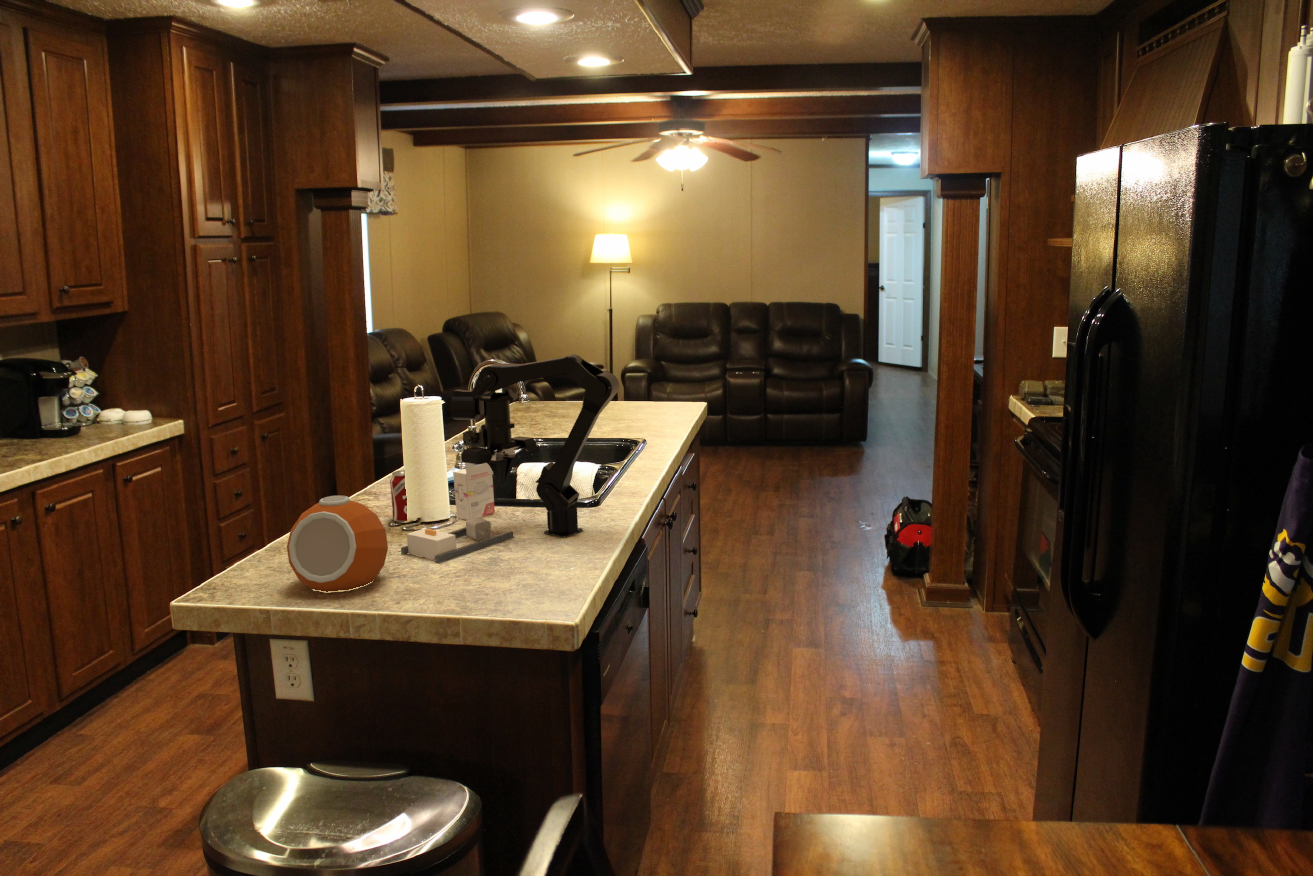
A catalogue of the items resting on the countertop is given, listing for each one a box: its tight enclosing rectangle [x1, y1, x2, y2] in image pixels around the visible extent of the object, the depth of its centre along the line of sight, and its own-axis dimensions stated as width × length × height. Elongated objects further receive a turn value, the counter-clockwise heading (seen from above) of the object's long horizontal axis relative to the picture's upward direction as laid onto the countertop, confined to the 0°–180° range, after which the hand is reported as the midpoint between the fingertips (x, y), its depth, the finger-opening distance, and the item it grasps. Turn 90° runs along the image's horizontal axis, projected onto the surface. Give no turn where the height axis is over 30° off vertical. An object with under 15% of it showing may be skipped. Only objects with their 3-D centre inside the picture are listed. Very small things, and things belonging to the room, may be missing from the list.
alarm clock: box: [286, 495, 389, 592], centre depth 203 cm, size 19×18×17 cm
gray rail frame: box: [400, 526, 514, 564], centre depth 227 cm, size 12×22×2 cm, turn 143°
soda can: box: [389, 469, 407, 523], centre depth 248 cm, size 7×7×12 cm
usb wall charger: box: [465, 517, 494, 541], centre depth 232 cm, size 4×7×4 cm, turn 37°
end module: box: [406, 528, 457, 561], centre depth 221 cm, size 10×5×6 cm, turn 53°
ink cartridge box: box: [452, 462, 496, 521], centre depth 251 cm, size 9×5×15 cm, turn 143°
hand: (502, 486), depth 236 cm, fingers closed
